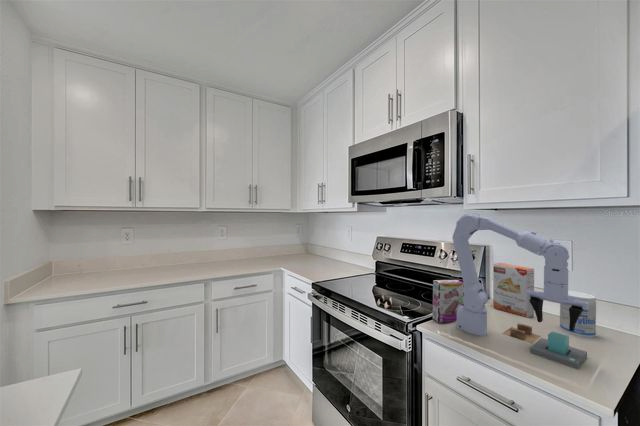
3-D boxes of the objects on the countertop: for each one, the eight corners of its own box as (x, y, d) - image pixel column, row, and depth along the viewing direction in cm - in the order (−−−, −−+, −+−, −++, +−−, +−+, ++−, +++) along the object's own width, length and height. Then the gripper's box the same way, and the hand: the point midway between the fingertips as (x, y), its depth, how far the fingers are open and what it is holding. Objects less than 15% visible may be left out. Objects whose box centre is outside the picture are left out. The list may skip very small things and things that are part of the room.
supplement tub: (576, 340, 93) (576, 298, 93) (552, 328, 103) (553, 290, 103) (604, 340, 93) (604, 298, 93) (578, 328, 103) (578, 290, 103)
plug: (547, 356, 83) (548, 334, 83) (552, 353, 85) (552, 331, 85) (564, 362, 79) (565, 339, 79) (568, 358, 82) (568, 335, 82)
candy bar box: (438, 324, 107) (438, 283, 107) (432, 319, 112) (432, 279, 112) (464, 322, 108) (464, 282, 108) (456, 317, 113) (457, 279, 113)
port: (529, 355, 83) (529, 346, 83) (541, 345, 90) (541, 336, 90) (578, 372, 75) (578, 362, 75) (587, 359, 81) (587, 350, 81)
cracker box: (492, 308, 124) (492, 263, 124) (500, 306, 127) (500, 262, 126) (526, 319, 111) (526, 269, 111) (534, 317, 114) (534, 268, 114)
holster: (501, 336, 96) (501, 326, 96) (511, 329, 102) (511, 320, 102) (532, 346, 89) (532, 336, 89) (541, 338, 94) (541, 329, 94)
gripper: (591, 285, 80) (590, 330, 80) (531, 275, 92) (531, 315, 92) (585, 289, 76) (585, 337, 76) (524, 278, 87) (523, 320, 88)
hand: (555, 325), depth 83 cm, fingers open, 7 cm apart
